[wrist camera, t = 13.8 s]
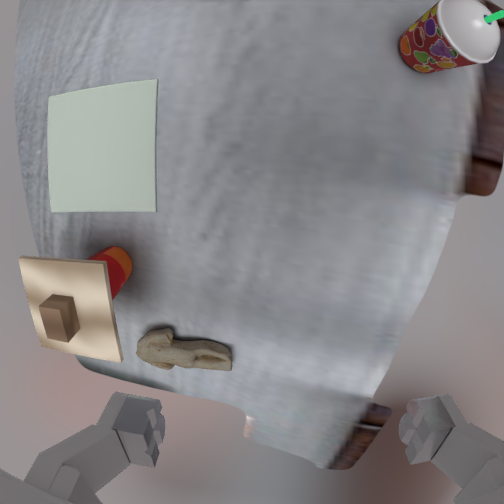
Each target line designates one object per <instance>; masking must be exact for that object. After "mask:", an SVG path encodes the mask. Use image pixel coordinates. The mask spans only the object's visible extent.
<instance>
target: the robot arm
mask: <svg viewBox="0 0 504 504" xmlns="http://www.w3.org/2000/svg"><path fill="white" fill-rule="evenodd" d="M161 409H162V406H161V402H160V400H157V399H152V398H147V397H141V396H136V395H131V394H125V393H120V392H115V393H113V394H112V396H111V398H110V400H109V402H108V403H107V405H106V407H105V409H104V411H103V413H102V415H101V417H100V419H99V421H98V423H97V425H91V426H89V427H87V428H85V429H83V430H82V431H80V432H78V433H76V434H74V435H73V436H71V437H69V438H67V439H65V440H63V441H62V442H60V443H58V444H56V445H54V446H52V447H51V448H48V449H47V450H45V451H43V452H41V453H39V455H38V457H37V458H36V460H35V462H34V463H33V465H32V467H31V469H30V471H29V472H28V474H27V476H26V478H25V479H24V481H22V480H20V479H18V478H17V477H15V476H13V475H11V474H9V473H7V472H6V471H4V470H2V469H0V504H103V503H102V502H101V501H100V500H99V498H98V497H97V496H96V494H95V493H96V492H97V491H99V490H100V489H101V488H102V487H104V486H105V485H106V484H107V483H109V482H110V481H111V480H112V479H113V478H115V477H116V476H117V475H118V474H120V473H121V472H122V471H123V470H124V469H126V468H127V467H128V466H129V465H130V463H131V464H136V465H142V466H147V467H153V468H155V466H156V462H157V459H158V456H159V449H158V445H159V444H161V443H162V442H163V438H164V434H165V419H164V416H163V415H162V414H161V413H160V411H161ZM407 410H408V412H407V413H406V414H405V415H404V416H402V418H401V421H400V423H399V435H400V438H401V441H402V442H403V443H405V444H406V445H407V447H406V450H405V452H406V454H407V457H408V459H409V462H410V464H416V463H420V462H425V461H430V460H431V462H432V463H433V464H434V465H435V466H437V467H438V468H439V469H440V470H441V471H442V472H444V473H445V474H446V475H447V476H448V477H450V478H451V479H452V480H453V481H454V482H455V483H457V484H458V485H459V486H460V487H461V488H462V490H461V491H460V492H459V493H458V494H457V496H455V498H454V503H455V504H504V441H502V440H501V439H499V438H497V437H495V436H493V435H492V434H490V433H488V432H486V431H484V430H483V429H481V428H479V427H478V426H476V425H474V424H472V423H467V421H466V420H465V418H464V416H463V414H462V413H461V411H460V410H459V408H458V406H457V405H456V403H455V401H454V400H453V398H452V397H451V396H450V395H449V394H443V395H438V396H432V397H426V398H420V399H414V400H411V401H410V402H409V404H408V406H407Z"/></svg>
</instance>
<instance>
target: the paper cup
mask: <svg viewBox="0 0 504 504" xmlns="http://www.w3.org/2000/svg"><path fill="white" fill-rule="evenodd" d="M86 260H95V261H107V269H108V276H109V283H110V290H111V296H112V300H113V299H114V297H115V296H116V295H117V293H118V292H119V290H120V289H121V288H122V286H123V285H124V283H125V282H126V281H127V279H128V278H129V276H130V274H131V272H132V261H131V258H130V256H129V255H128V253H127V252H126V251H125V250H123V249H122V248H120V247H116V246H111V247H108V248H105V249H104V250H102V251H100V252H98V253H96V254H95V255H93V256H91V257H90V258H88V259H86Z"/></svg>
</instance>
